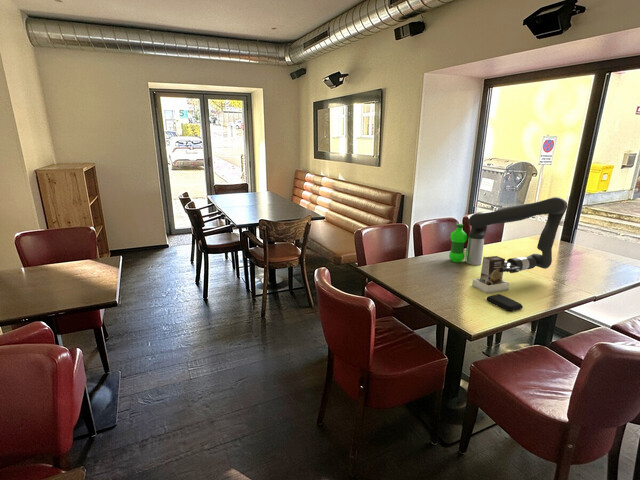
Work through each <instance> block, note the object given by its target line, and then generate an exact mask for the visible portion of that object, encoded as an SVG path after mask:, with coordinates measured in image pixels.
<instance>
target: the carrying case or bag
mask: <svg viewBox="0 0 640 480" xmlns="http://www.w3.org/2000/svg"><path fill="white" fill-rule="evenodd" d="M486 301H487V302H488V303H490V304H491V305H494V306H496V307H498V308H500V309H501V310H504V311H507V312H508V311H509V313H510V312H512V313H513V312H515V311H518V310H519V311H520V310H521V309H523V307H524V306H523V305H522V303H520V302H518V301H516V300H514V299H512V298H510V297H507V296H505V295H503V294H500V293H497V294H493V295H489V296H487V297H486Z"/></svg>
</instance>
